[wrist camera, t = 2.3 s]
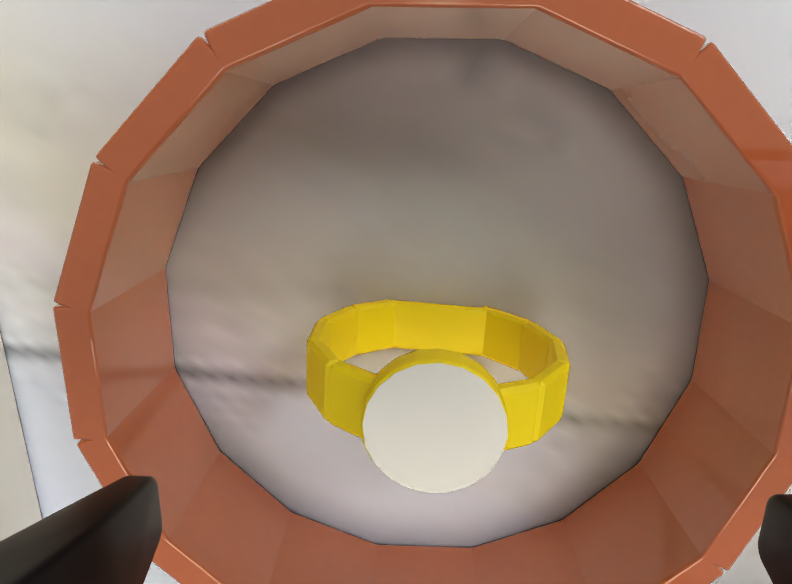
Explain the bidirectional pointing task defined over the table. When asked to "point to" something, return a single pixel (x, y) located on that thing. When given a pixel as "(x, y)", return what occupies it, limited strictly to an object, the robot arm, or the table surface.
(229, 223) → the table surface
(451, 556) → the orange faceted ring
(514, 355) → the watch
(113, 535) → the robot arm
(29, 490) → the mounting plate
